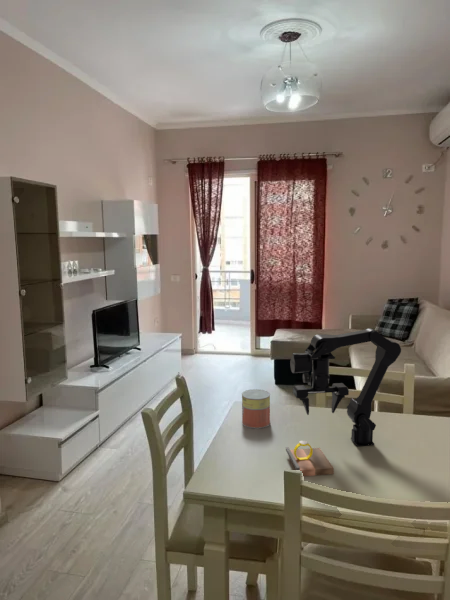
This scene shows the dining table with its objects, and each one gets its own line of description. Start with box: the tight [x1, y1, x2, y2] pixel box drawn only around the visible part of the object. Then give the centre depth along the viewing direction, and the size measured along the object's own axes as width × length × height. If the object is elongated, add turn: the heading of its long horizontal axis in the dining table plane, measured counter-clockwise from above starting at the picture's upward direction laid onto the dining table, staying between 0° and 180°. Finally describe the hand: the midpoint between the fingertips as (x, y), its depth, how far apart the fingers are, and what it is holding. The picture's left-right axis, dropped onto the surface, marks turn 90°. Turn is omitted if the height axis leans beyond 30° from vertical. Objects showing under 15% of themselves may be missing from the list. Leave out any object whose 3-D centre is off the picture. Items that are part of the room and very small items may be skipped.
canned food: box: [241, 388, 271, 429], centre depth 184 cm, size 11×11×12 cm
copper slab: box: [285, 446, 335, 477], centre depth 151 cm, size 12×14×3 cm
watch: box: [293, 440, 313, 460], centre depth 150 cm, size 6×3×6 cm, turn 99°
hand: (320, 413), depth 163 cm, fingers open, 9 cm apart
